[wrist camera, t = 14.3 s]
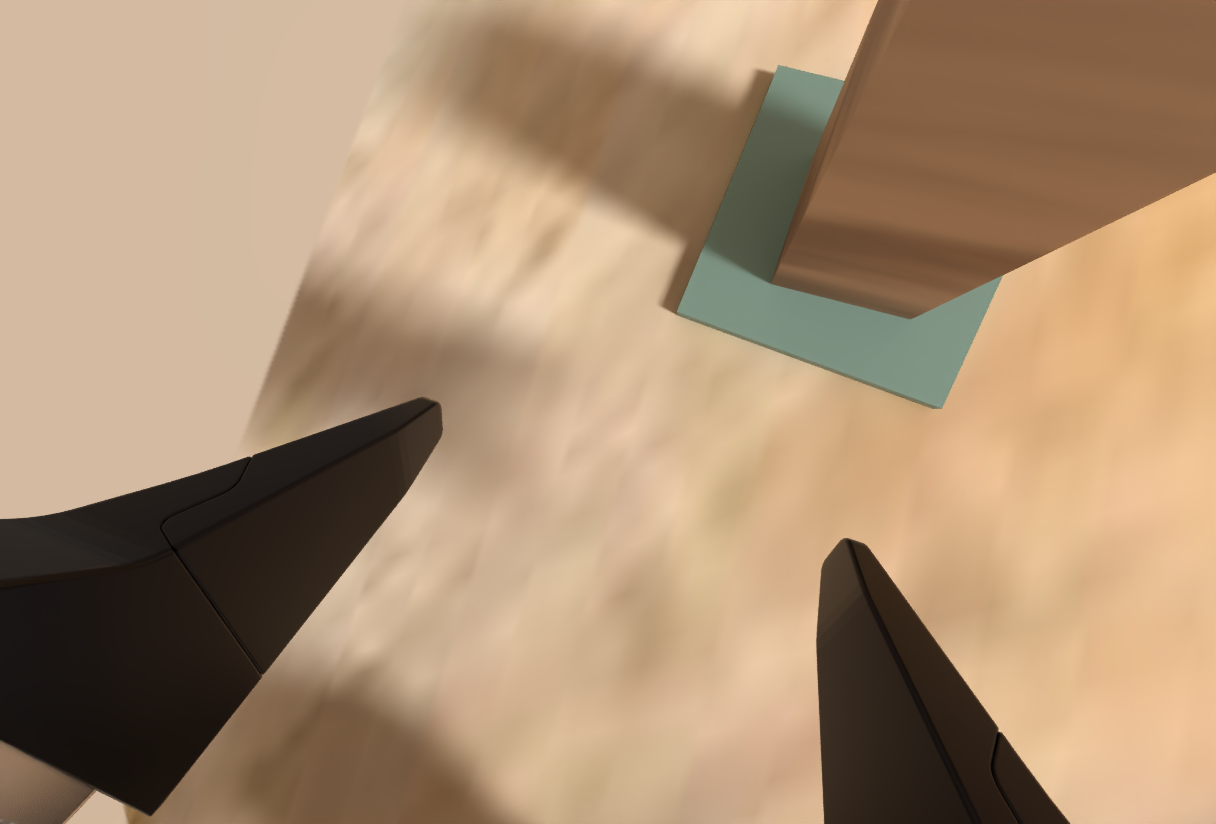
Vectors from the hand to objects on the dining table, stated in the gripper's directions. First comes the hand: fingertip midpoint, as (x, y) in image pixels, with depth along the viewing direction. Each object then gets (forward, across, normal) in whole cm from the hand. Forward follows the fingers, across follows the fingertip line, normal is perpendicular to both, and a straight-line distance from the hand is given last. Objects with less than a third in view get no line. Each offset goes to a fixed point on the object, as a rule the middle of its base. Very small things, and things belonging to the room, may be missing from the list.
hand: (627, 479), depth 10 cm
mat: (+13, -5, -3) cm, 14 cm away
